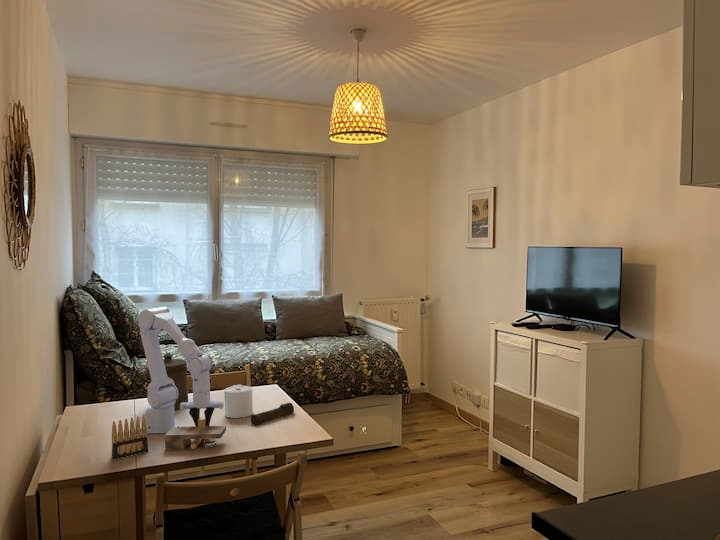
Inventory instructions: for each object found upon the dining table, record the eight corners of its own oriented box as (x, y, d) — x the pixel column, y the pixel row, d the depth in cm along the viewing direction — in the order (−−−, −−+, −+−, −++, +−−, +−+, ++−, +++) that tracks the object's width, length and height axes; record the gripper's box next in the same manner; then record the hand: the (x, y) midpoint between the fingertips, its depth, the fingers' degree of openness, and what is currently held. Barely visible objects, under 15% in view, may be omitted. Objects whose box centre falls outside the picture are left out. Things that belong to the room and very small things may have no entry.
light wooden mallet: (189, 448, 180) (188, 430, 179) (200, 433, 193) (199, 417, 192) (197, 448, 180) (196, 430, 179) (207, 433, 193) (207, 416, 192)
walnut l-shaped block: (165, 450, 179) (164, 435, 178) (173, 441, 187) (172, 427, 186) (220, 449, 179) (220, 433, 179) (226, 440, 187) (226, 425, 187)
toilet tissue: (232, 420, 208) (231, 394, 207) (218, 413, 217) (218, 388, 217) (257, 414, 215) (257, 389, 214) (243, 407, 224) (242, 383, 223)
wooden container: (180, 398, 239) (178, 348, 238) (194, 406, 227) (192, 353, 226) (145, 405, 229) (143, 353, 228) (158, 413, 218) (155, 358, 217)
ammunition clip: (147, 450, 179) (145, 413, 179) (148, 452, 178) (147, 415, 177) (111, 458, 173) (110, 420, 173) (112, 459, 172) (111, 422, 171)
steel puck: (202, 448, 181) (202, 443, 181) (205, 443, 185) (205, 438, 185) (214, 447, 181) (214, 442, 181) (217, 443, 185) (217, 438, 185)
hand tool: (256, 426, 201) (255, 414, 201) (250, 424, 204) (249, 411, 204) (298, 414, 214) (297, 403, 214) (291, 412, 217) (291, 401, 217)
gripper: (225, 386, 195) (226, 424, 195) (183, 387, 194) (185, 425, 195) (220, 392, 188) (221, 431, 188) (177, 393, 187) (179, 432, 188)
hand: (202, 429), depth 191 cm, fingers closed on light wooden mallet, 3 cm apart
